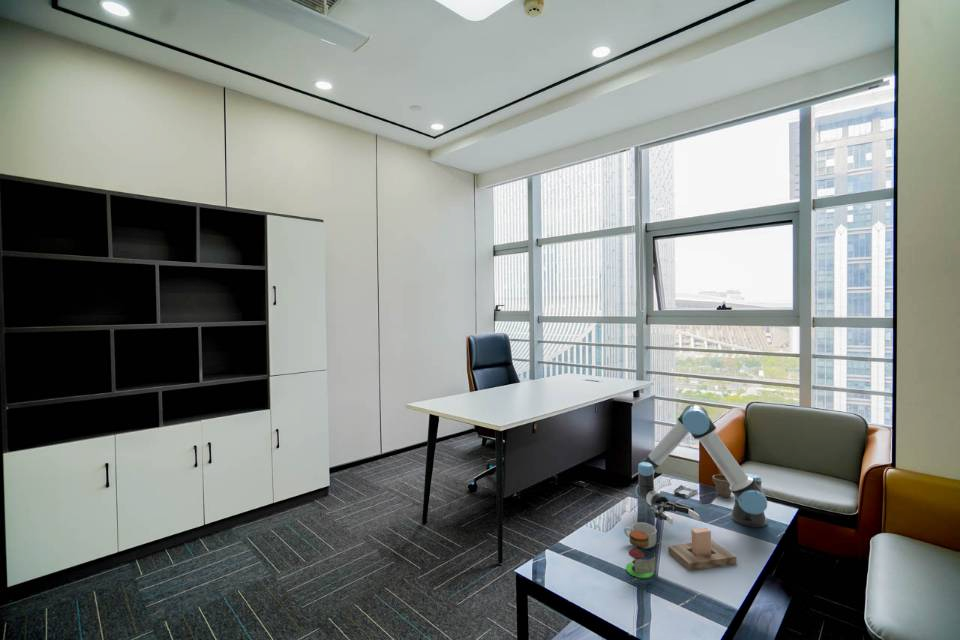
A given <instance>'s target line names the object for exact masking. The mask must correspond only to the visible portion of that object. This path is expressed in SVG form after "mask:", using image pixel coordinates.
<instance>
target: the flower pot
mask: <svg viewBox="0 0 960 640" xmlns="http://www.w3.org/2000/svg"><path fill="white" fill-rule="evenodd" d="M712 482H713V483H714V485H715V490H716V492H717V496H719V497H723V498H729V497H731V495H732V492H731V490H730V483H729V482H728V480H727V479H726V477H725V476H724V475H723V474H714V475H712Z"/></svg>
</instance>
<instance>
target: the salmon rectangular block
mask: <svg viewBox="0 0 960 640" xmlns="http://www.w3.org/2000/svg"><path fill="white" fill-rule="evenodd" d="M690 532H691V543H692V554H693V555H695V556H702V555H710V554H711V540H712V532H711V530H710V529H708V528H707V527H702V528H693V529H691V531H690Z"/></svg>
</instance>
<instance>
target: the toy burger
mask: <svg viewBox="0 0 960 640" xmlns="http://www.w3.org/2000/svg"><path fill="white" fill-rule="evenodd" d="M628 534H629V536H630V538H629V543H630V544H631V545H632V546H633V547H632V548H631V549H629V551H628V555H629V557H631V558H632V559H633V560H632V561H631V562H629V563H627V565H626V566H625V569H626V572H627V573H628V574H629V575H630V576H632V577H634V576H635V578H637V577H638V578H637V579H650V578H652V577H653V576H654V572H655V571H656V554H655V553H654V557H652V558H649V559H643V558H644V557H645V554H644V552H643V551H642V550H641V549H640V548H641V547H647V546H648V545H649V539H648V534H647V533H645V532H643V531H638V530H635V531H630V532H629V533H628Z"/></svg>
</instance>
